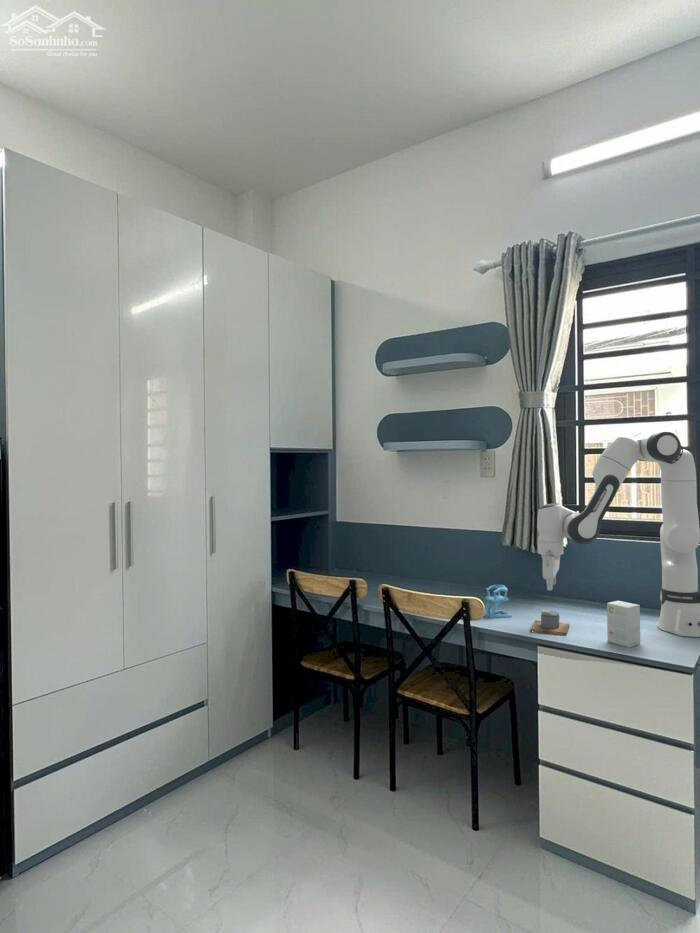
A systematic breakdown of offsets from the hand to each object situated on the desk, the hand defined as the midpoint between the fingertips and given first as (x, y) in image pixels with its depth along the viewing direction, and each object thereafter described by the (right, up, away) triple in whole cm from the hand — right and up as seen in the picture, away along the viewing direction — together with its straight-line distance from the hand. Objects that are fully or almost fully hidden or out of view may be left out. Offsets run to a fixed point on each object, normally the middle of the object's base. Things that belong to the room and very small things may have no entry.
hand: (551, 587), depth 211 cm
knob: (0, -14, 0) cm, 14 cm away
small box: (+18, -15, -17) cm, 29 cm away
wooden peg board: (0, -15, 0) cm, 15 cm away
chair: (-15, -15, +19) cm, 28 cm away
